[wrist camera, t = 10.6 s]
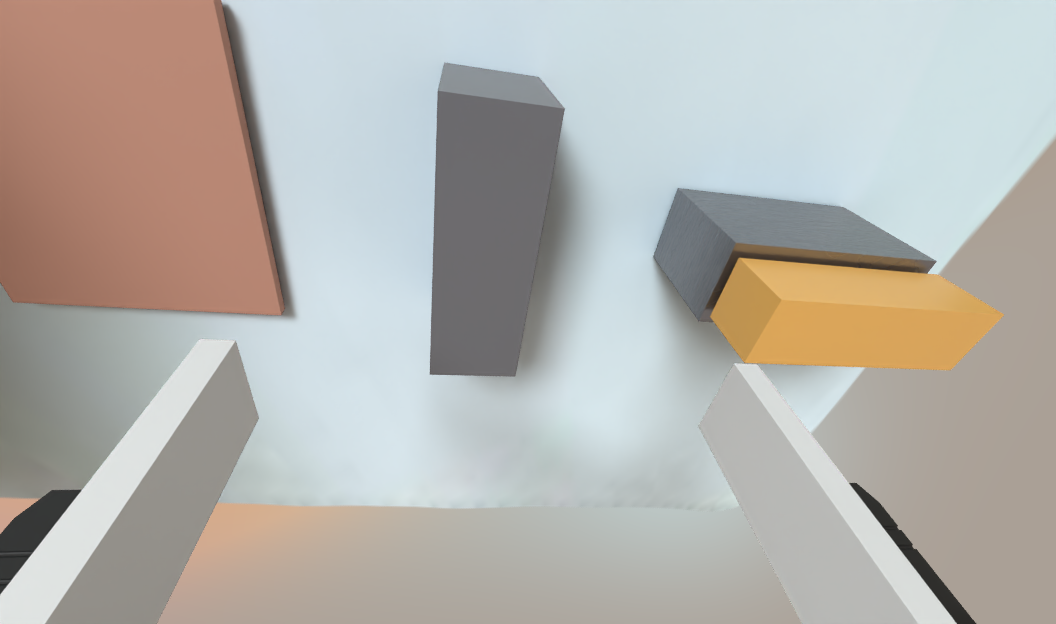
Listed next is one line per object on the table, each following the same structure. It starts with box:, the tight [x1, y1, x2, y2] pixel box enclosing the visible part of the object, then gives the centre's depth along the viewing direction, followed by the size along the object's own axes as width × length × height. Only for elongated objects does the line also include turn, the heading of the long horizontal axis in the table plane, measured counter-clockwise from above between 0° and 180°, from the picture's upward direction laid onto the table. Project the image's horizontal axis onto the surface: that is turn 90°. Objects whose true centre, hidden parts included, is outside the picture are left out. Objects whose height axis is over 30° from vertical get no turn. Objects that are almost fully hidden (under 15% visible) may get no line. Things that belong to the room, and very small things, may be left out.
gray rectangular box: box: [653, 188, 937, 322], centre depth 22 cm, size 10×4×6 cm, turn 81°
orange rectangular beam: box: [710, 258, 1004, 370], centre depth 18 cm, size 10×3×3 cm, turn 81°
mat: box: [0, 0, 285, 315], centre depth 19 cm, size 12×14×1 cm
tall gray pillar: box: [430, 63, 565, 376], centre depth 20 cm, size 4×12×6 cm, turn 171°
